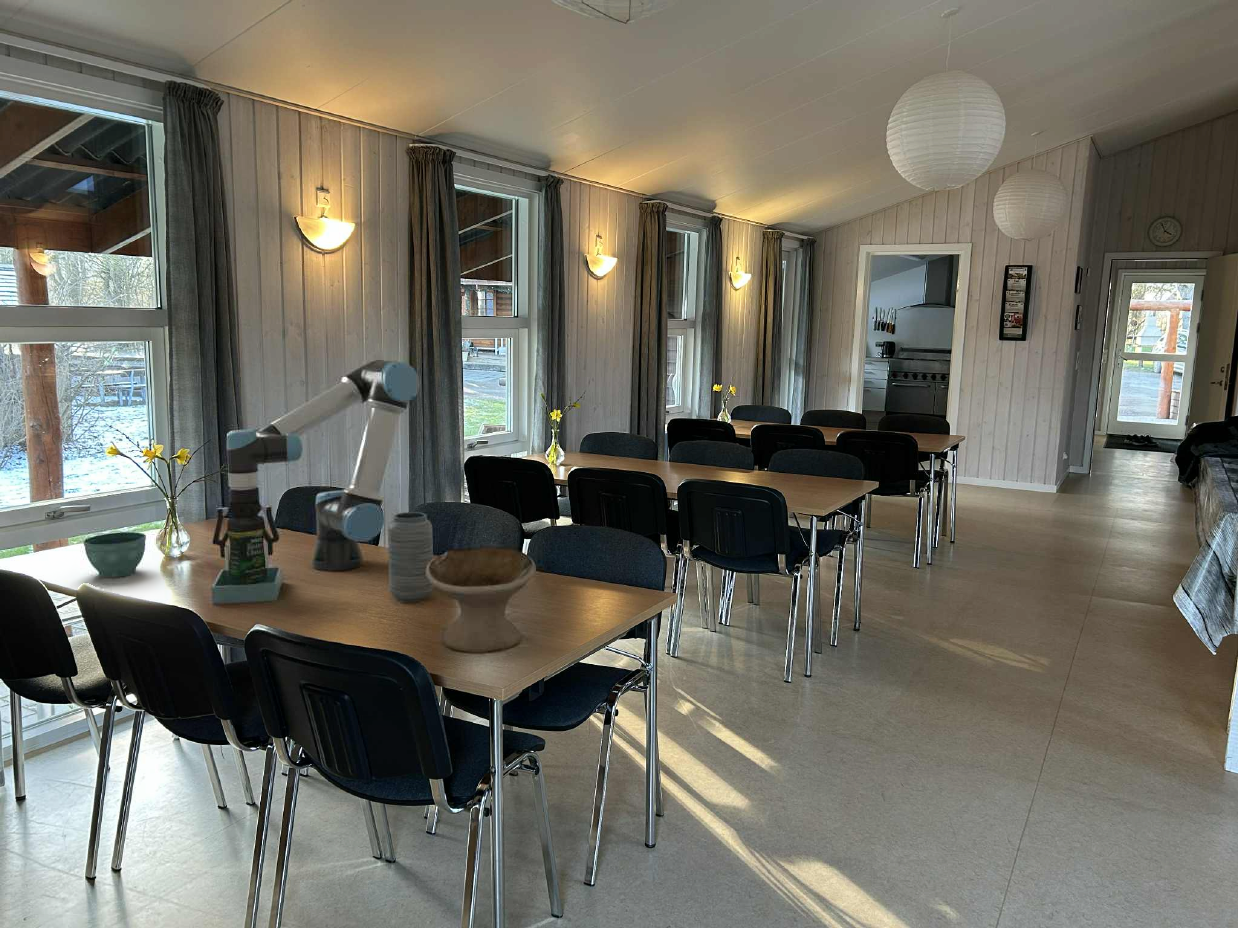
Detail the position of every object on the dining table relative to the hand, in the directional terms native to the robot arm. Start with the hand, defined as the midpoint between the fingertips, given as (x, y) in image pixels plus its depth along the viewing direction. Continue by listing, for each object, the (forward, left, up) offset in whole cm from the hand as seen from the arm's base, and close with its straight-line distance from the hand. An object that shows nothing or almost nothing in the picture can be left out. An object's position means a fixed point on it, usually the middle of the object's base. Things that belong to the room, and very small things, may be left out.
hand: (247, 567), depth 255 cm
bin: (0, 0, -7) cm, 7 cm away
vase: (-43, +15, -7) cm, 46 cm away
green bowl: (+39, -29, -7) cm, 49 cm away
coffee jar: (0, 0, -4) cm, 4 cm away
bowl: (-57, +54, -7) cm, 79 cm away
